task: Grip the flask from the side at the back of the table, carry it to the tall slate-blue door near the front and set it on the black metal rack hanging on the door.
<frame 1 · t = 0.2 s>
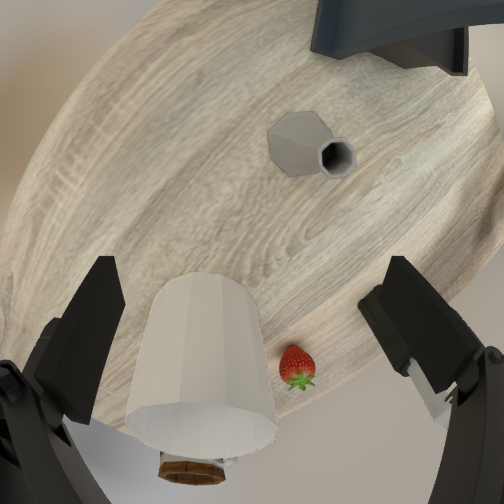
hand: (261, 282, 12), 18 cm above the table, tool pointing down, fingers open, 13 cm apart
fruit: (291, 348, 42), on the table
flask: (300, 143, 27), on the table
mug: (200, 415, 50), on the table
candle: (374, 300, 39), on the table
container: (204, 314, 36), on the table
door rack: (378, 18, 20), on the table
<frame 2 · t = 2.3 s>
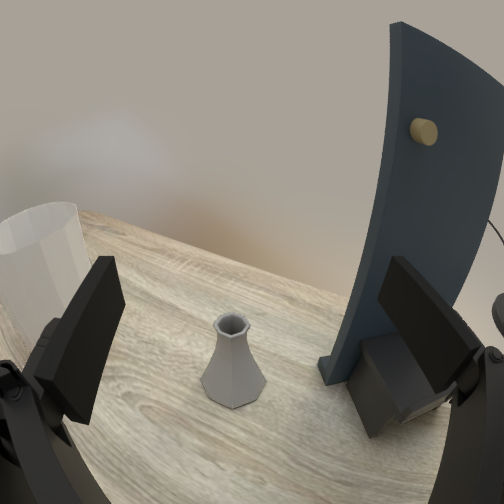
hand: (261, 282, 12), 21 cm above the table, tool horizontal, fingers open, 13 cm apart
flask: (233, 383, 29), on the table
container: (70, 336, 32), on the table
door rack: (393, 395, 26), on the table
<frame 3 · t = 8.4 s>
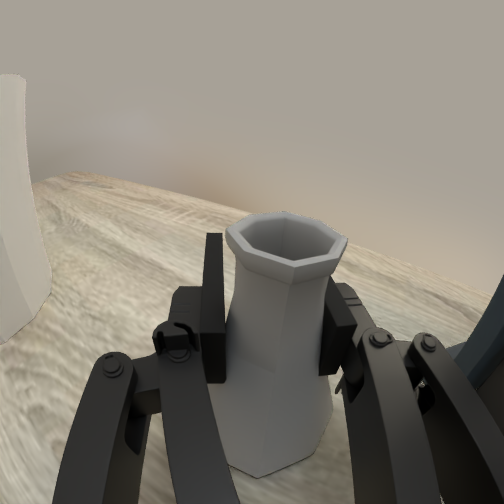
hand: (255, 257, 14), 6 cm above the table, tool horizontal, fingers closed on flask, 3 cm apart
flask: (259, 414, 12), on the table, touching gripper
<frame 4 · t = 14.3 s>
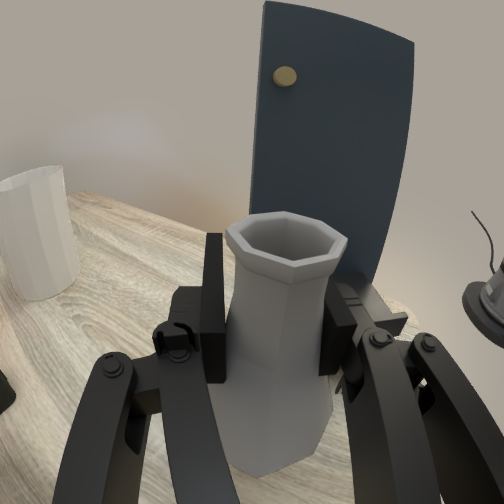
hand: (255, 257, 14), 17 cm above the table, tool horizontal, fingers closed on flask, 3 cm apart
flask: (259, 414, 12), point 11 cm above the table, touching gripper
container: (47, 277, 38), on the table
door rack: (313, 346, 31), on the table
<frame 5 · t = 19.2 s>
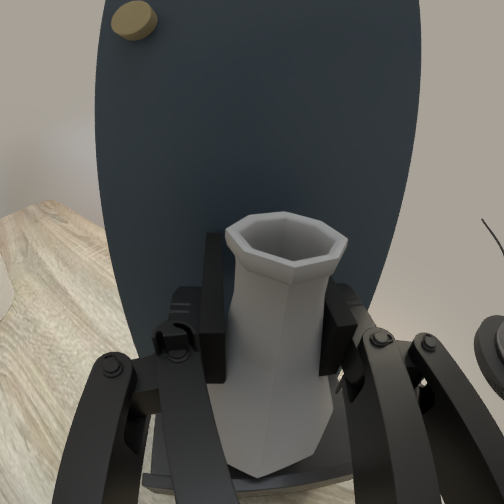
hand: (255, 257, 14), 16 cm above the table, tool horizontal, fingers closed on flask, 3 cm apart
flask: (259, 414, 12), point 10 cm above the table, touching gripper
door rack: (247, 445, 19), on the table
when the fingers open (15 cm above the table, at t = 20.0 s): flask stays where it is, resting on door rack.
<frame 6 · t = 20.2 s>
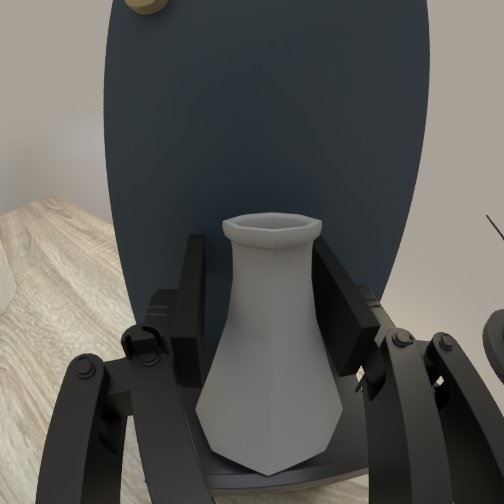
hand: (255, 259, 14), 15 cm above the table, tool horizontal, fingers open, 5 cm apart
flask: (269, 419, 12), point 9 cm above the table, touching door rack
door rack: (256, 440, 18), on the table
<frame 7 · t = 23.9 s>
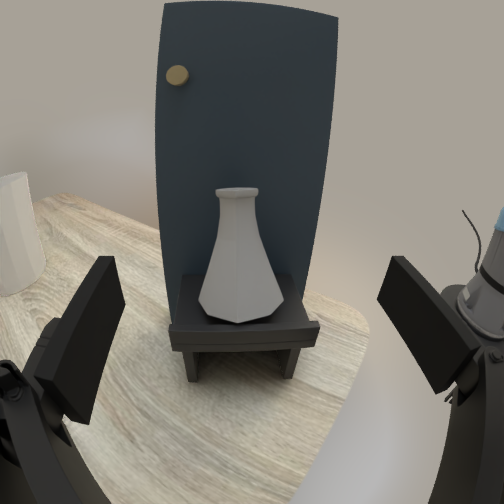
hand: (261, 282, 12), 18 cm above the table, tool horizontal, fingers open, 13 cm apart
flask: (240, 305, 24), point 9 cm above the table, touching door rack
container: (17, 274, 37), on the table
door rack: (237, 350, 30), on the table
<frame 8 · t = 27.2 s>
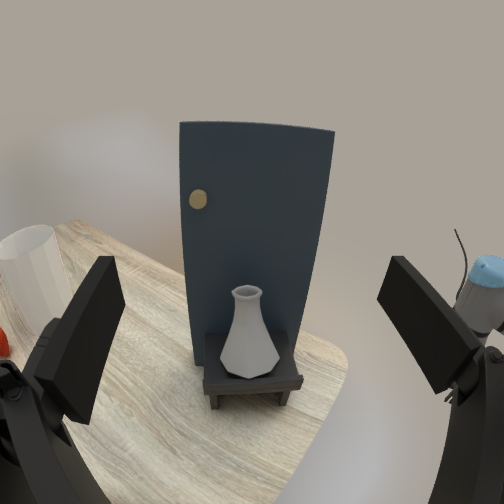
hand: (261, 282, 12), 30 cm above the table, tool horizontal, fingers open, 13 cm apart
fruit: (6, 355, 34), on the table
flask: (249, 361, 33), point 9 cm above the table, touching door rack
container: (49, 314, 46), on the table
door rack: (246, 384, 39), on the table
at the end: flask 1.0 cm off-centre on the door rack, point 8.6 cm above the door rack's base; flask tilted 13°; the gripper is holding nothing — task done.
